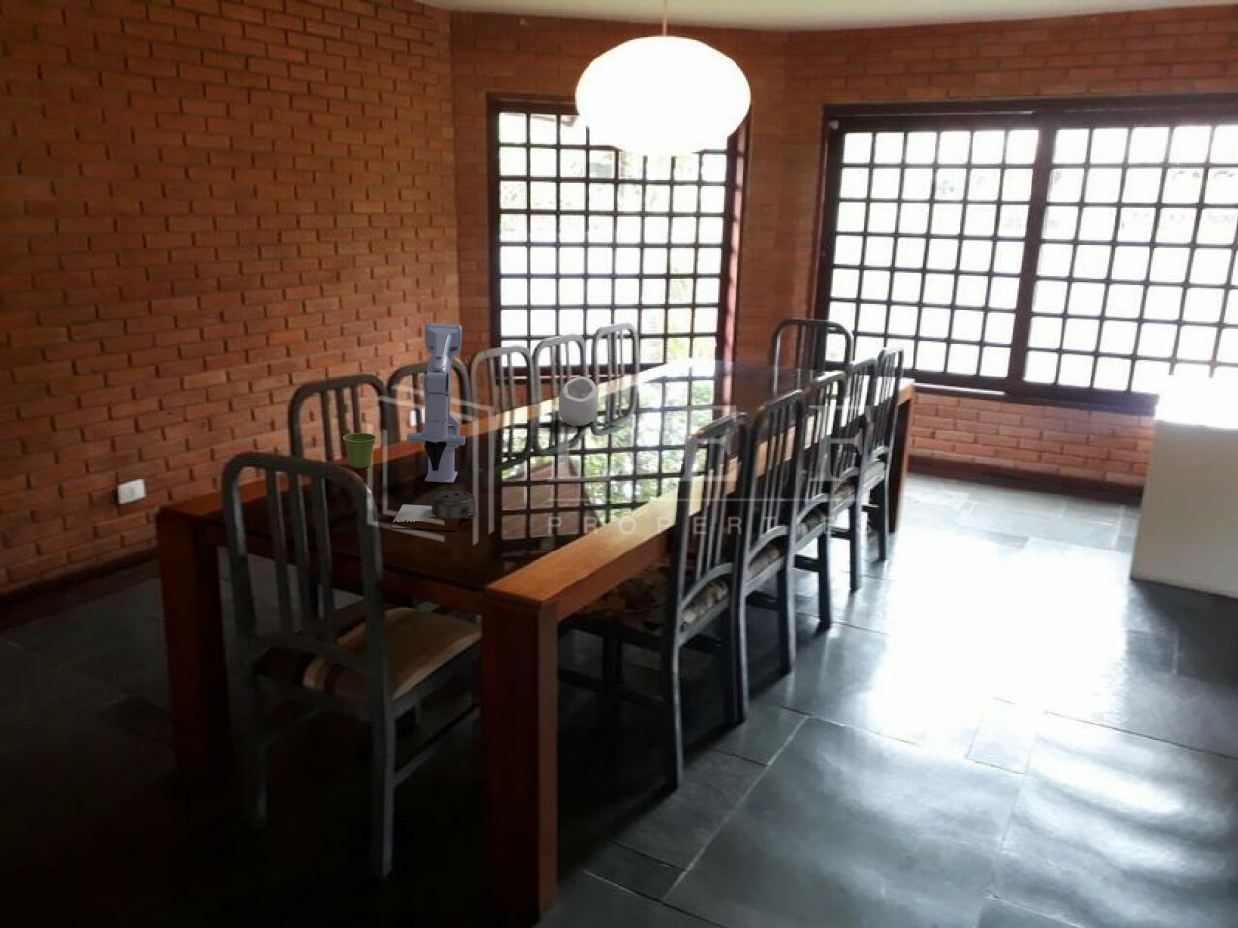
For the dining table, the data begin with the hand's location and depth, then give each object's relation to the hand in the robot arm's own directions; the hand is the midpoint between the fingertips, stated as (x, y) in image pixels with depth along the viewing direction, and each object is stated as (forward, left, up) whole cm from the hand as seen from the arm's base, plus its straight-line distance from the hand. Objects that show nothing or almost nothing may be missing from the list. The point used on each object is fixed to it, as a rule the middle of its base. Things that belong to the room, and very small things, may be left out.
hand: (435, 469), depth 245 cm
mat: (+9, 0, -10) cm, 14 cm away
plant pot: (-31, -27, -10) cm, 42 cm away
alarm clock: (0, +1, -7) cm, 7 cm away
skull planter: (-97, +36, -10) cm, 104 cm away
